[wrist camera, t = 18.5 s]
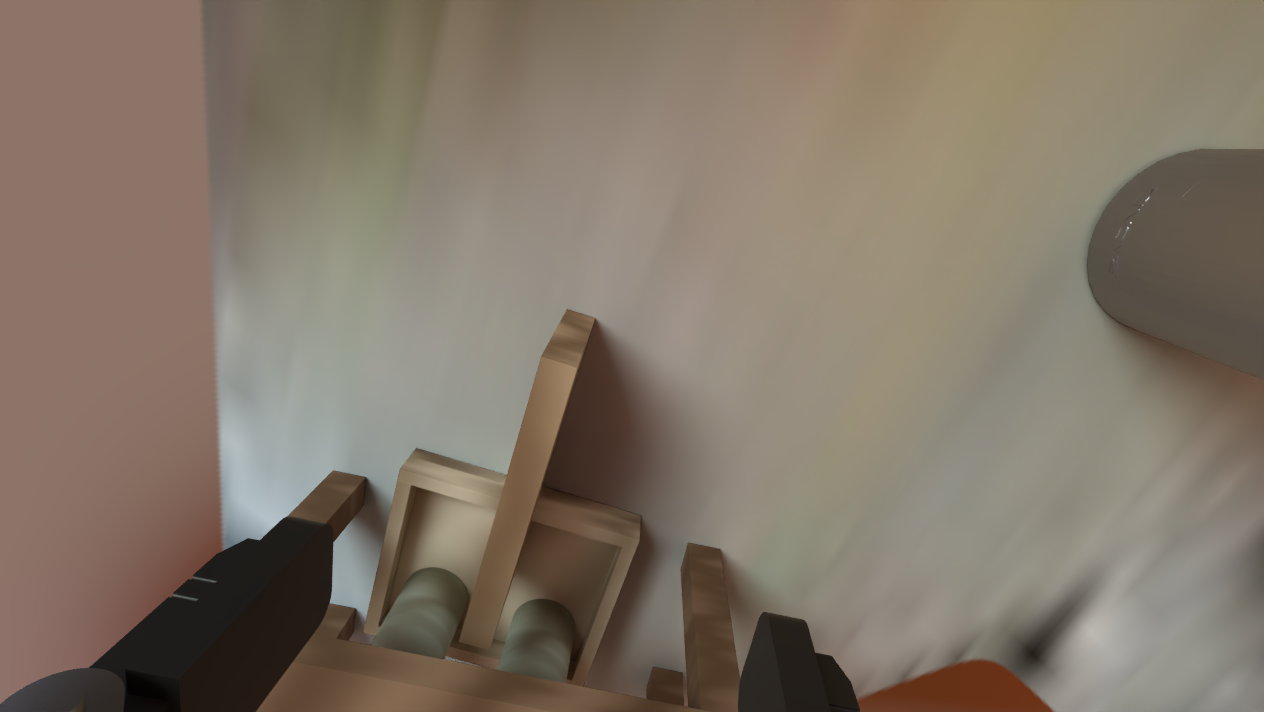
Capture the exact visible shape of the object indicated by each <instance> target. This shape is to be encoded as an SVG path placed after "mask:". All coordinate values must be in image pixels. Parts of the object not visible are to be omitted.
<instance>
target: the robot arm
mask: <svg viewBox="0 0 1264 712" xmlns="http://www.w3.org/2000/svg"><path fill="white" fill-rule="evenodd" d="M1087 267H1088V276H1089V283H1090V285H1091V288H1092V291H1093V293H1094V296H1095V298H1096V300H1097V301H1098V302H1099V304H1100V305H1101V307H1102V308H1103V309H1104V311H1105V312H1107V313H1108V314H1109V315H1110V316H1111V317H1113V318H1114V319H1115V320H1116V321H1118V322H1120V323H1122V324H1124V325H1126V326H1128V327H1131V328H1133V329H1135V330H1138V331H1140V332H1143V333H1146V334H1148V335H1151V336H1153V337H1156V338H1158V339H1161V340H1164V341H1166V342H1169V343H1171V344H1174V345H1176V346H1179V347H1181V348H1183V349H1186V350H1188V351H1191V352H1193V353H1196V354H1198V355H1201V356H1203V357H1206V358H1209V359H1211V360H1214V361H1216V362H1219V363H1221V364H1224V365H1227V366H1229V367H1232V368H1234V369H1237V370H1239V371H1242V372H1245V373H1247V374H1250V375H1252V376H1255V377H1257V378H1260V379H1262V380H1264V149H1199V150H1194V151H1189V152H1184V153H1179V154H1176V155H1174V156H1171V157H1169V158H1166V159H1164V160H1161V161H1159V162H1157V163H1155V164H1154V165H1152V166H1150V167H1149V168H1147V169H1146V170H1144V171H1142V172H1141V173H1139V174H1138V175H1137V176H1135V177H1134V178H1133V179H1132V180H1131V181H1130V182H1129V183H1127V184H1126V185H1125V186H1124V187H1123V188H1122V189H1121V190H1120V191H1119V192H1118V193H1117V195H1116V196H1115V197H1114V198H1113V199H1112V201H1111V202H1110V203H1109V204H1108V206H1107V207H1106V209H1105V210H1104V212H1103V214H1102V216H1101V217H1100V219H1099V221H1098V223H1097V225H1096V227H1095V230H1094V233H1093V236H1092V239H1091V242H1090V245H1089V253H1088V261H1087ZM332 565H333V528H332V526H331V525H330V524H327V523H322V522H317V521H312V520H307V519H302V518H297V517H292V516H288V517H285V518H283V519H282V520H281V521H280V522H279V523H278V524H277V525H276V526H275V527H273V528H272V529H271V530H270V531H269V532H268V533H267V534H266V535H265V536H264V537H263V538H262V539H261V540H260V541H259V540H254V539H249V538H248V539H246V540H244V541H242V542H240V543H238V544H236V545H234V546H232V547H230V548H228V549H226V550H224V551H222V552H220V553H218V554H216V555H215V556H214V557H213V558H212V559H211V560H210V561H209V562H207V563H206V564H205V565H204V566H203V567H202V568H201V569H199V571H197V572H196V573H195V574H194V575H193V578H192V579H191V580H190V579H189V580H187V581H186V582H185V583H184V584H183V585H181V586H180V587H179V588H178V589H177V590H176V591H175V592H174V594H173V596H172V597H171V598H170V597H168V598H167V599H166V600H165V601H164V602H162V603H161V604H160V605H159V606H158V607H157V608H156V609H155V610H153V611H152V613H150V614H149V615H148V616H147V617H146V618H145V619H143V620H142V621H141V622H140V623H139V624H138V625H137V626H136V627H134V628H133V629H132V630H131V631H130V632H129V633H128V634H126V635H125V636H124V637H123V638H122V639H121V640H120V641H119V642H118V643H116V645H114V646H113V647H112V648H111V649H110V650H109V651H107V652H106V653H105V654H104V655H103V656H102V657H101V658H100V659H98V660H97V661H96V662H95V663H94V664H93V665H92V666H90V667H89V668H80V669H73V670H68V671H63V672H60V673H56V674H53V675H50V676H47V677H45V678H42V679H40V680H38V681H35V682H33V683H31V684H29V685H27V686H25V687H24V688H22V689H20V690H19V691H17V692H16V693H14V694H13V695H11V696H10V697H8V698H7V699H6V700H4V701H3V702H2V703H1V704H0V712H256V711H257V710H258V708H259V707H260V706H261V704H262V703H263V701H264V700H265V699H266V697H267V696H268V695H269V693H270V692H271V691H272V689H273V688H274V687H275V685H276V684H277V683H278V681H279V680H280V679H281V677H282V676H283V675H284V673H285V672H286V670H287V669H288V668H289V666H290V665H291V664H292V662H293V661H294V660H295V658H296V657H297V656H298V654H299V653H300V652H301V650H302V649H303V648H304V646H305V645H306V643H307V642H308V641H309V639H310V638H311V637H312V635H313V634H314V633H315V631H316V630H317V629H318V627H319V626H320V624H321V622H322V620H323V618H324V616H325V614H326V611H327V609H328V606H329V603H330V598H331V592H332ZM738 712H860V709H859V706H858V702H857V699H856V696H855V693H854V690H853V687H852V684H851V682H850V680H849V679H848V678H847V676H846V675H845V673H844V672H843V671H842V669H841V668H840V667H839V665H838V664H837V663H836V661H835V660H834V658H833V657H832V656H829V655H824V654H819V653H815V651H814V647H813V643H812V640H811V636H810V632H809V629H808V626H807V623H806V622H805V620H802V619H797V618H792V617H787V616H782V615H777V614H772V613H767V612H763V613H762V614H761V616H760V618H759V621H758V624H757V627H756V630H755V633H754V637H753V640H752V643H751V646H750V649H749V653H748V656H747V659H746V662H745V665H744V669H743V672H742V675H741V679H740V685H739V693H738Z"/></svg>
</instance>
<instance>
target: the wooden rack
mask: <svg viewBox="0 0 1264 712" xmlns="http://www.w3.org/2000/svg"><path fill="white" fill-rule="evenodd" d="M365 481H366V477H362V476H357V475H352V474H347V473H343V472H338V471H332V472H331V473H330V474H329V475H328V476H327V477H326V478H325V479H324V480H323V481H322V482H321V483H320V484H319V485H318V486H317V487H316V488H315V489H314V490H313V491H312V492H311V493H310V494H309V495H308V496H307V497H306V498H305V499H304V500H303V501H302V502H301V503H300V504H299V505H298V506H297V507H296V508H295V509H294V510H293V511H292V512H291V513H290V514H289V515H288V516H292V517H297V518H302V519H307V520H312V521H317V522H322V523H327V524H330V525H331V526H332V528H333V542H334V541H335V540H336V539H337V537H338V536H339V535H340V534H341V532H342V531H343V530H344V529H345V527H346V526H347V525H348V524H349V523H350V521H351V520H352V519H353V518H354V516H355V515H356V514H357V513H358V512H359V510H360V509H361V508H362V507H363V505H364V494H365ZM288 516H287V517H288ZM681 583H682V602H683V620H684V638H685V657H686V675H687V694H688V707H685V706H684V698H683V676H682V673H681V672H676V671H671V670H666V669H661V668H656V667H653V669H652V672H651V676H650V680H649V683H648V687H647V697H646V699H644V698H639V697H633V696H628V695H623V694H618V693H613V692H608V691H603V690H597V689H592V688H587V687H582V686H577V685H572V684H567V683H562V682H556V681H551V680H546V679H541V678H536V677H531V676H526V675H520V674H515V673H510V672H505V671H500V670H495V669H490V668H484V667H479V666H474V665H469V664H464V663H459V662H454V661H449V660H443V659H438V658H433V657H428V656H423V655H418V654H413V653H407V652H402V651H397V650H392V649H387V648H382V647H377V646H372V645H366V644H361V643H356V642H351V641H348V640H349V639H350V637H351V636H352V634H353V632H354V619H355V608H350V607H345V606H340V605H335V604H330V603H329V606H328V609H327V611H326V614H325V616H324V618H323V620H322V622H321V624H320V626H319V627H318V629H317V630H316V631H315V633H314V634H313V635H312V637H311V638H310V639H309V641H308V642H307V643H306V645H305V646H304V648H303V649H302V650H301V652H300V653H299V654H298V656H297V657H296V658H295V660H294V661H293V662H292V664H291V665H290V666H289V668H288V669H287V670H286V672H285V673H284V675H283V676H282V677H281V679H280V680H279V681H278V683H277V684H276V685H275V687H274V688H273V689H272V691H271V692H270V693H269V695H268V696H267V697H266V699H265V700H264V701H263V703H262V704H261V706H260V707H259V708H258V710H257V711H256V712H738V693H739V685H740V676H739V670H738V663H737V657H736V650H735V644H734V637H733V631H732V624H731V618H730V611H729V605H728V598H727V592H726V585H725V579H724V572H723V566H722V559H721V553H720V549H717V548H712V547H707V546H702V545H697V544H692V543H688V545H687V549H686V552H685V556H684V559H683V563H682V566H681Z"/></svg>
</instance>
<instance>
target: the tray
mask: <svg viewBox="0 0 1264 712" xmlns="http://www.w3.org/2000/svg"><path fill="white" fill-rule="evenodd" d="M594 321H595V318H593V317H590V316H587V315H584V314H581V313H578V312H574V311H571V310H568V309H567V310H566V312H565V314H564V316H563V318H562V320H561V321H560V323H559V325H558V327H557V329H556V331H555V332H554V334H553V336H552V338H551V340H550V342H549V343H548V345H547V347H546V349H545V351H544V353H543V354H542V356H541V359H540V363H539V366H538V370H537V373H536V377H535V380H534V384H533V387H532V390H531V394H530V397H529V401H528V404H527V408H526V411H525V415H524V418H523V421H522V425H521V428H520V432H519V435H518V439H517V442H516V446H515V449H514V453H513V456H512V459H511V463H510V466H509V470H508V473H507V475H504V474H501V473H497V472H494V471H491V470H487V469H484V468H481V467H477V466H474V465H471V464H467V463H464V462H461V461H457V460H454V459H451V458H448V457H444V456H441V455H438V454H434V453H431V452H428V451H424V450H421V449H418V448H416V449H415V450H414V452H413V453H412V454H411V455H410V457H409V458H408V459H407V460H406V462H405V463H404V464H403V465H402V467H401V468H400V470H399V475H398V479H397V484H396V488H395V493H394V497H393V502H392V506H391V510H390V515H389V519H388V524H387V528H386V533H385V537H384V542H383V546H382V551H381V555H380V560H379V564H378V568H377V573H376V577H375V582H374V586H373V591H372V595H371V600H370V604H369V609H368V613H367V617H366V622H365V626H364V631H363V633H366V634H370V635H373V636H375V638H374V639H373V641H372V644H371V645H372V646H377V647H382V648H387V649H392V650H397V651H402V652H407V653H413V654H418V655H423V656H428V657H433V658H438V659H443V660H444V659H445V656H448V657H452V658H455V659H459V660H463V661H466V662H470V663H473V664H477V665H480V666H484V667H488V668H491V669H495V670H500V671H505V672H510V673H515V674H520V675H526V676H531V677H536V678H541V679H546V680H551V681H556V682H562V683H567V684H572V685H577V686H582V687H583V686H584V683H585V681H586V678H587V676H588V673H589V670H590V668H591V665H592V663H593V660H594V657H595V655H596V652H597V650H598V647H599V644H600V642H601V639H602V637H603V634H604V631H605V629H606V626H607V624H608V621H609V619H610V616H611V613H612V611H613V608H614V606H615V603H616V600H617V598H618V595H619V593H620V590H621V587H622V585H623V582H624V580H625V577H626V574H627V572H628V569H629V567H630V564H631V561H632V559H633V556H634V554H635V551H636V548H637V546H638V543H639V541H640V521H641V516H640V515H637V514H634V513H631V512H627V511H624V510H621V509H617V508H614V507H611V506H607V505H604V504H601V503H597V502H594V501H591V500H587V499H584V498H581V497H577V496H574V495H571V494H567V493H564V492H561V491H557V490H554V489H551V488H547V487H544V486H543V483H544V480H545V477H546V474H547V471H548V467H549V464H550V461H551V458H552V455H553V451H554V448H555V445H556V442H557V439H558V436H559V432H560V429H561V426H562V423H563V420H564V416H565V413H566V410H567V407H568V404H569V400H570V397H571V394H572V391H573V388H574V384H575V381H576V378H577V375H578V372H579V369H580V365H581V362H582V359H583V356H584V353H585V349H586V346H587V343H588V340H589V337H590V333H591V330H592V327H593V324H594Z"/></svg>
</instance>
